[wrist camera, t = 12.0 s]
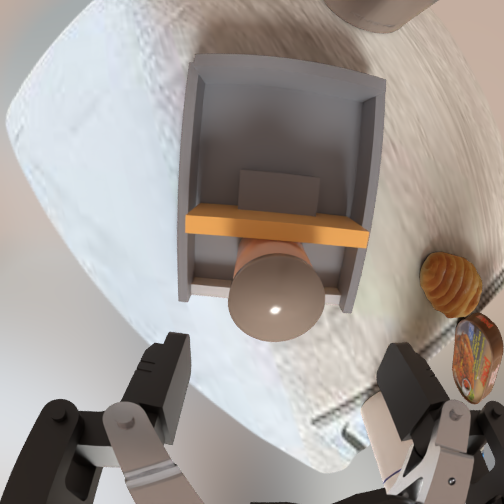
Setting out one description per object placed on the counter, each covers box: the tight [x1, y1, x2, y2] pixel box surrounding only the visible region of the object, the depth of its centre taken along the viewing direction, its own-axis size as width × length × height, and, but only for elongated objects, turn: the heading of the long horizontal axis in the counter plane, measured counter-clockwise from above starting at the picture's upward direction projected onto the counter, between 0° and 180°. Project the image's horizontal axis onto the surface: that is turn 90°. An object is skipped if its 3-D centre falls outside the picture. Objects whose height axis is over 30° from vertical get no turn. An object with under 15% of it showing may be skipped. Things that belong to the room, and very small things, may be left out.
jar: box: [228, 237, 325, 342], centre depth 20 cm, size 6×6×8 cm
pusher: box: [185, 169, 369, 248], centre depth 20 cm, size 4×12×5 cm, turn 85°
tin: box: [452, 312, 503, 404], centre depth 25 cm, size 15×3×8 cm, turn 22°
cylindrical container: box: [361, 391, 413, 493], centre depth 20 cm, size 7×7×25 cm
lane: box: [177, 54, 386, 313], centre depth 20 cm, size 19×15×5 cm
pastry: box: [420, 252, 482, 318], centre depth 24 cm, size 9×7×4 cm
